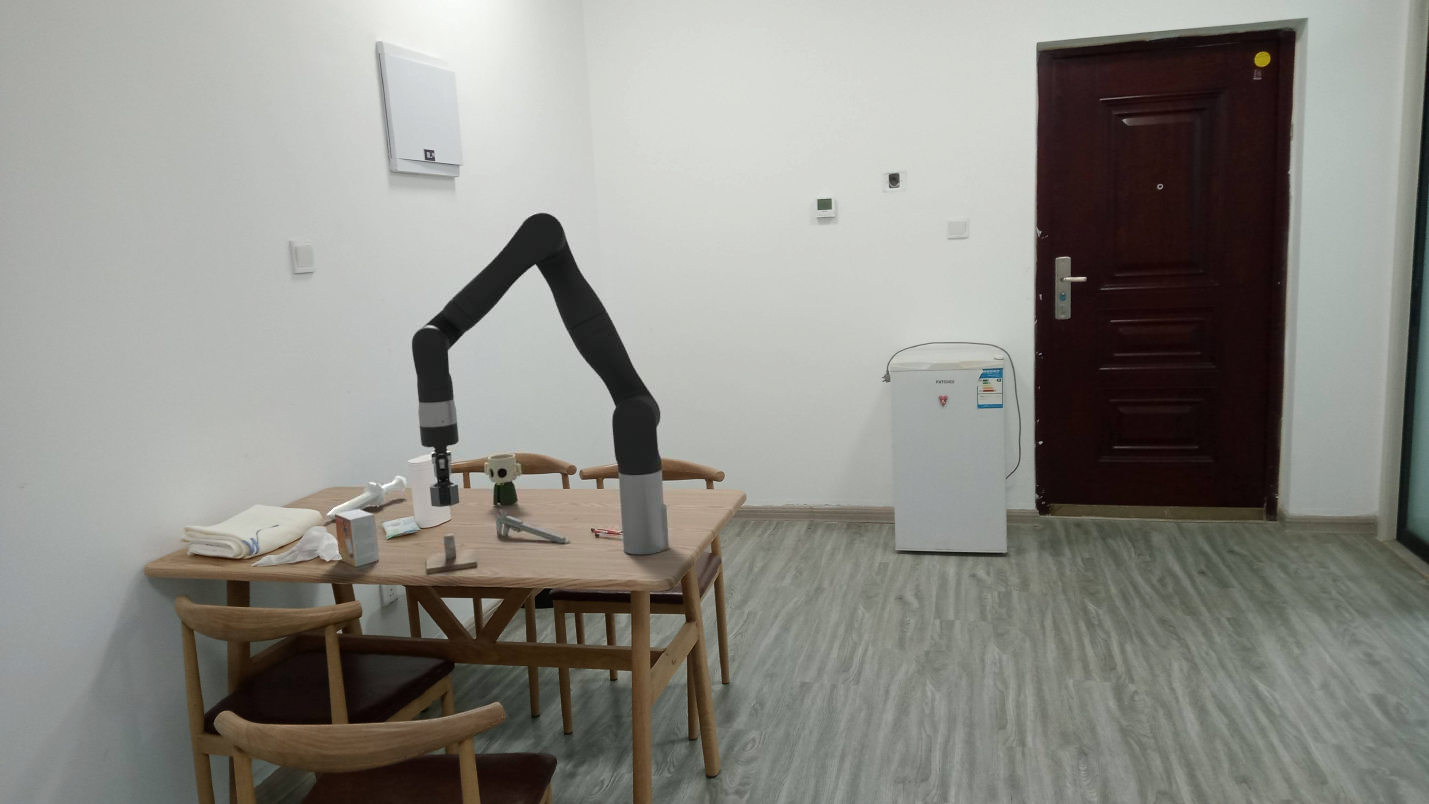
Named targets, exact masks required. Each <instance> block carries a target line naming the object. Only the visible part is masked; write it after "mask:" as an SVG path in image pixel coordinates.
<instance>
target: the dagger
mask: <svg viewBox="0 0 1429 804" xmlns="http://www.w3.org/2000/svg"><path fill="white" fill-rule="evenodd" d="M407 487H408V482H407V480H406V477H404V476H401V475H395V477H394V478H393V479H392V480H391V481H390V483H386V484H383V485H381V484H380V483H379V482H377V483H376V482H373V481H370V482H368V483H367V484H366V486H365V487H364V489H363V490H362V492H363V493H362V494H360V495H358V496H357V497H354V498H352V499H350V500H349V501H346V502H345V503H342V504H339V505H338V506H336V507H334V508H333V509H332V510H331V511H329V512H328V513H327V514H326V515H325V516H326V517H327V518H328V519H329V520H335V514H337V513H342V512H346V511H351V510H355V509H361V510H363V509H364V508H366V506H370V505H378V506H379V505H381V506H382V505H383V504H384V502H385V501H386V499H387V495H389V494H391V493H392V492H393V491H396V492H399V493H403V492H404V491H405V490H406V488H407Z"/></svg>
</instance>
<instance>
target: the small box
mask: <svg viewBox="0 0 1429 804" xmlns="http://www.w3.org/2000/svg"><path fill="white" fill-rule="evenodd" d="M334 520H335V529H336V539H337V548H338V555H339V554H340V555H341V557H342V560H341V562H344V563H346V564H348V565H351V566H352V567H354V568H357V566H358V567H360V566H365V565H369V564H371V562H372V563H375V562H374V561H376V562H378V561H377V560H379V561H380V556H379V555H380V554H379V544H378V543H379V542H378V536H377V535H378V533H377V525H376V524H377V523H376V514H374V513H371V512H368V511H365V510H363V509H361V510H360V509H355V510H351V511H346V512H342V513H337V514H335V519H334Z"/></svg>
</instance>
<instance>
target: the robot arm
mask: <svg viewBox="0 0 1429 804" xmlns="http://www.w3.org/2000/svg"><path fill="white" fill-rule="evenodd" d="M534 266H536V267H537V269H538V270H539V272H540V273H541V275H542V276H543V278H544V279H545V282H546V283H547V285H548V287H549V289H550V291H551V294H552V297H553V299H554V303H555V305H556V308H557V310H558V313H559V316H560V318H561V320H562V322H563V325H564V327H565V330H566V331H567V332H568V334H569V337H570V338H571V340H572V342H573V345H574V346H575V348H576V349H577V351H578V352H579V354H580V355H581V357H582V358H583V359H584V360H585V362H586V363H587V364H588V365H589V367H590V368H591V369H592V370H593V371H594V372H595V374H597V375H598V377H599V378H600V379H601V380H602V381H603V383H604V385H605V387H606V388H607V390H608V392H609V395H610V397H611V399H612V401H613V403H614V406H615V408H614V410H613V413H612V418H611V427H612V438H613V448H614V457H615V461H616V464H617V469H618V485H619V499H620V500H619V501H620V513H621V514H620V516H621V531H622V544H623V545H622V546H623V547H622V548H623V552H625V553H627V554H630V555H652V554H656V553H659V552H662V551H664V550H670V544H669V541H670V539H669V528H668V527H669V526H668V525H669V523H668V509H667V508H668V507H667V505H666V504H665V501H664V486H663V485H664V482H663V470H662V469H663V468H662V459H661V455H660V452H659V445H658V444H659V443H658V432H657V431H658V429H657V427H658V426H659V424H660V421H661V409H660V406H659V404H658V402H657V401H656V399H655V398H654V396H653V395H652V393H651V392H650V390H649V389H648V387H647V386H646V384H645V383H644V381H643V379H642V378H641V377H640V376H639V374H638V372H637V370H636V368H635V367H634V365H633V362H632V361H631V359H630V358H631V357H630V355H629V354H628V351H627V350H626V347H625V344H624V343H623V341H622V338H621V337H620V334H619V332H618V330H617V327H616V326H615V324H614V323H613V320H612V318H611V317H610V314H609V313H608V311H607V309H606V307H605V306H604V304H603V303H602V300H600V297H599V296H598V294H597V293H596V292H595V290H594V288H592V286H591V285H590V283H589V282H588V281H587V279H586V278H585V276H584V275H583V274H582V272H581V270H580V267H579V266H578V264H577V262H576V260H575V257H574V255H573V253H572V250H571V248H570V245H569V242H568V240H567V236H566V232H565V229H564V227H563V225H562V223H561V222H560V220H559V219H558V218H556V217H555V216H554V215H552V214H550V213H547V212H536V213H533V214H531V215H529V216H528V217H526V218H525V219H524V220H523V221H522V224H521V225H520V226H519V227H518V229H517V230H516V232H514V234H513V236H512V237H511V239H510V240H509V241H508V242H507V244H506V245H505V246H504V247H503V248H502V249H501V251H500V252H499V253H498V254H497V255H496V256H495V257H494V258H493V259H492V261H490V262H489V263H488V264H487V265H486V266H485V267H484V268H483V269H482V270H481V271H480V272H479V273H477V274H476V275H475V276H474V277H473V278H472V279H471V280H470V281H468V283H467V284H465V286H464V287H462V288H461V290H459V291H458V292H457V293H456V294H455V295H454V296H453V297H452V298H451V299H450V300H449V301H448V302H447V303H446V305H445V306H444V307H443V308H442V310H441V311H440V312H438V313H437V314H436V315H435V316H434V317H433V318H431V319H430V320H429V321H428V322H426V324H424V325H423V326H422V327H420V329H418V330H417V331H416V332H415V333H414V335H413V337H412V340H411V352H412V357H413V358H412V359H413V364H414V368H415V369H414V370H415V374H416V380H417V381H416V386H417V397H418V421H419V434H420V443H421V445H422V446H423V447H425V448H434V450H433V451H434V452H431V454H430V455H431V464H432V465H433V474H434V475H433V476H434V477H435V478H436V480H437V482H438V483H437V482H436V483H437V486H438V488H439V498H440V504H441V505H449V504H451V496H450V485H451V479H450V478H451V476H452V474H453V473H452V465H451V464H452V463H451V462H452V460H453V459H452V452H451V450H450V451H448V448H447V447H448V446H455V445H456V444H458V443H459V441H460V440H459V439H460V438H459V429H458V415H457V407H456V403H455V397H454V396H455V395H454V386H453V378H452V375H451V374H450V367H449V365H450V363H449V361H450V360H449V350H450V349H451V348H452V347H453V346H454V345H455V344H456V343H457V342H458V341H459V340H460V338H462V336H464V334H465V333H467V332H468V331H470V330H471V329H472V328H473V327H475V326H476V325H477V324H478V323H479V322H480V321H481V320H482V319H484V317H486V315H487V314H489V312H491V310H492V309H493V308H494V307H495V306H496V305H497V304H498V303H499V301H500V300H501V299H502V298H503V297H504V295H506V293H507V292H508V291H509V289H510V288H511V287H512V286H513V285H514V284H515V282H517V280H519V279H520V278H521V277H522V276H523V275H524V274H525V273H526V272H527V271H529V269H531V268H532V267H534Z"/></svg>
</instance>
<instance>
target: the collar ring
mask: <svg viewBox="0 0 1429 804" xmlns="http://www.w3.org/2000/svg"><path fill="white" fill-rule="evenodd" d="M450 481H451V480H450ZM437 483H438V482H435V483H432V484H429V493H430V504H431V507H438V508H440V507H441V508H442V507H451V506H455V505H457V504H458V505H459V504H460V497H459V495H460V494H459V482H458V481H451V485H450V496H451V504H449V505H441V504H440V498H439V488H438V486H437Z"/></svg>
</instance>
